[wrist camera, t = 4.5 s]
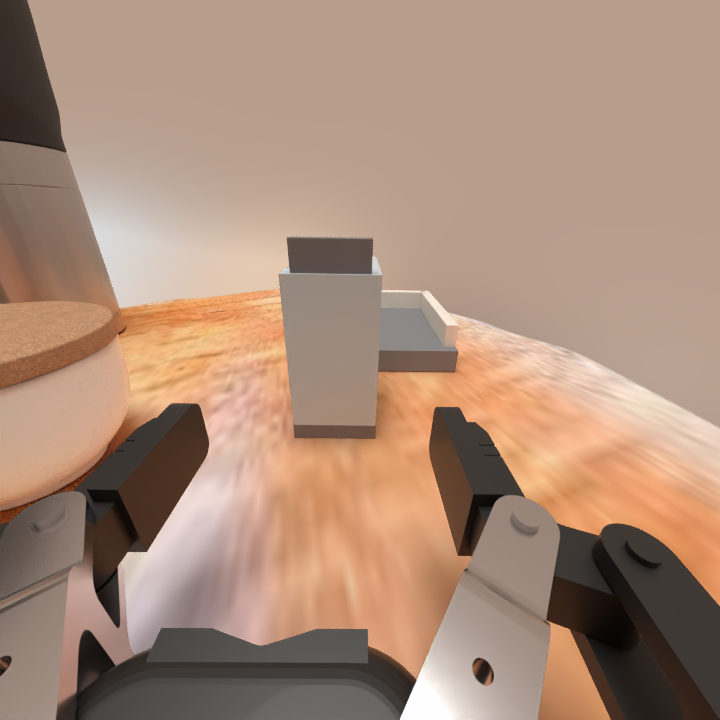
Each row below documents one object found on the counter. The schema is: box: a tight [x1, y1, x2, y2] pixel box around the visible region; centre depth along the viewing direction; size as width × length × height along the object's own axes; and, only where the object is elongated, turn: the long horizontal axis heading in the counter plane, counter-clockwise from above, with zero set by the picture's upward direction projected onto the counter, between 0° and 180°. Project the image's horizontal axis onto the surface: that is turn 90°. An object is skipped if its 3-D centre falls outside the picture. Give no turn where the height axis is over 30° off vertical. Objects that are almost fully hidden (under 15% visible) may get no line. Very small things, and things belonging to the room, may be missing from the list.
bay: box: [381, 290, 458, 347], centre depth 33 cm, size 10×13×2 cm
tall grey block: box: [279, 237, 382, 439], centre depth 20 cm, size 5×7×12 cm
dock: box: [378, 308, 458, 372], centre depth 33 cm, size 10×14×2 cm
